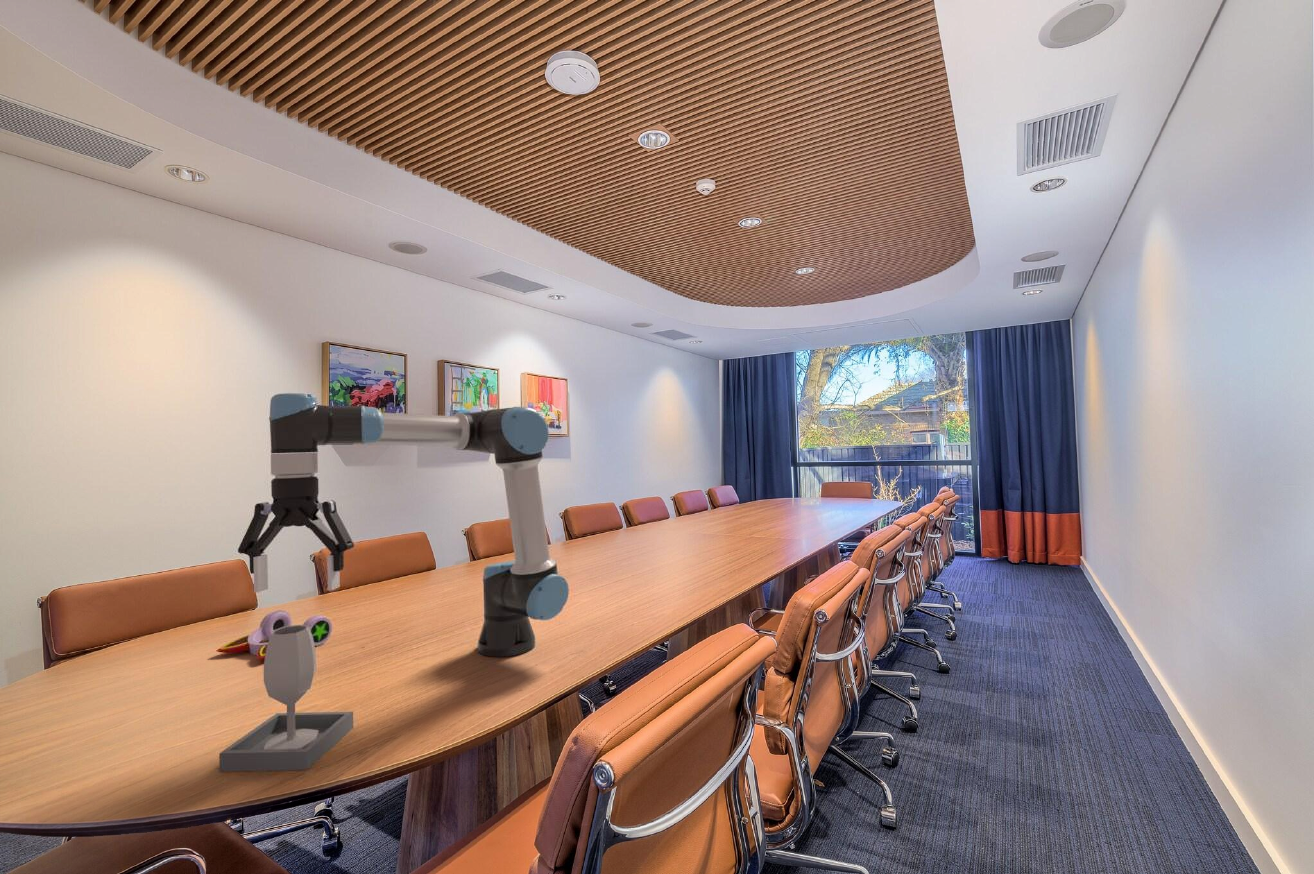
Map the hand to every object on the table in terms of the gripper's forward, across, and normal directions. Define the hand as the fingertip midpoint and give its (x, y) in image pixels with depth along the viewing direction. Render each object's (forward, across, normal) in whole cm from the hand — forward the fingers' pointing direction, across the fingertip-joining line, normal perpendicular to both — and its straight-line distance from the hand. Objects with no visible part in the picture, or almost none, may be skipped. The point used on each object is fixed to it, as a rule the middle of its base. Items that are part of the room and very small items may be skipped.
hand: (297, 589), depth 109 cm
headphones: (+29, +39, -53) cm, 72 cm away
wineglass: (+28, 0, +2) cm, 28 cm away
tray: (+28, +1, +2) cm, 28 cm away
